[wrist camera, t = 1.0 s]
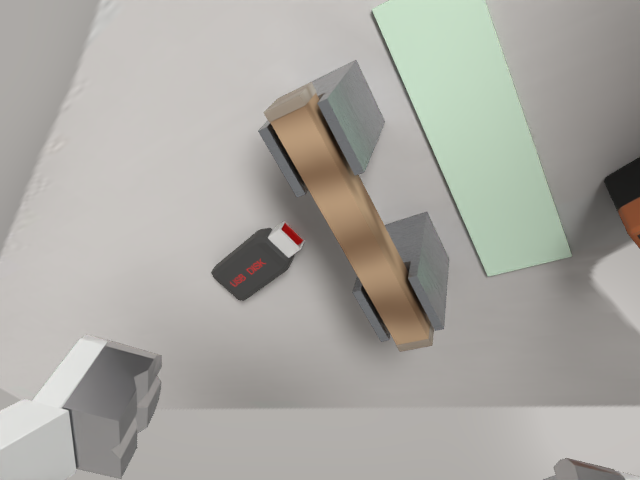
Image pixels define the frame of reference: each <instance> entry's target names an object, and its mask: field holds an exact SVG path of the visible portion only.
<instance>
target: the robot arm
mask: <svg viewBox="0 0 640 480" xmlns="http://www.w3.org/2000/svg"><path fill="white" fill-rule="evenodd" d="M161 367H162V355H159V354H156V353H152V352H149V351H145V350H142V349H138V348H134V347H131V346H127V345H124V344H120V343H117V342H113V341H110V340H106V339H102V338H99V337H95V336H91V335H87V334H86V335H85V336H83V337H82V338H80V339H79V340H78V341H77V342H76V344H75V345H74V346H73V348H72V349H71V350H70V351H69V353H68V354H67V355H66V357H65V358H64V359H63V360H62V362H61V363H60V364H59V366H58V367H57V368H56V370H55V371H54V372H53V373H52V375H51V376H50V377H49V379H48V380H47V381H46V383H45V384H44V385H43V386H42V388H41V389H40V390H39V392H38V393H37V394H36V396H35V397H34V398H33V399H32V400H27V399H22V400H20V401H18V402H16V403H14V404H13V405H11V406H9V407H7V408H5V409H3V410H1V411H0V480H67V479H68V478H69V477H70V476H72V475H73V474H74V473H76V471H77V470H76V469H79V470H83V471H88V472H93V473H97V474H101V475H105V476H110V477H114V478H119V479H121V478H122V476H123V474H124V472H125V470H126V468H127V466H128V464H129V462H130V460H131V458H132V457H133V454H134V453H135V450H136V449H137V433H139V432H141V431H142V430H144V429H145V428H147V427H148V424H149V423H150V420H151V418H152V416H153V414H154V411H155V409H156V406H157V403H158V400H159V395H160V390H161V380H160V379H159V378H158V376H157V374H158V373H159V371H160V369H161ZM554 470H555V474H556V475H555V476H552V477H549V478H546V479H544V480H640V477H639V476H635V475H632V474H628V473H624V472H619V471H615V470H614V469H610V468H606V467H602V466H598V465H594V464H589V463H585V462H581V461H577V460H573V459H569V458H565V459H562V460H560V461H559V462H558V463H557V464H556V465H555V466H554Z"/></svg>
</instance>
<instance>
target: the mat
mask: <svg viewBox="0 0 640 480" xmlns="http://www.w3.org/2000/svg"><path fill="white" fill-rule="evenodd" d="M372 11H373V14H374V16H375V18H376V21H377V23H378V25H379V28H380V30H381V32H382V34H383V37H384V39H385V41H386V44H387V46H388V48H389V51H390V53H391V55H392V57H393V60H394V62H395V64H396V67H397V69H398V71H399V73H400V76H401V78H402V80H403V83H404V85H405V87H406V90H407V92H408V94H409V96H410V99H411V101H412V103H413V106H414V108H415V110H416V113H417V115H418V117H419V119H420V122H421V124H422V126H423V129H424V131H425V133H426V136H427V138H428V140H429V142H430V145H431V147H432V149H433V152H434V154H435V156H436V159H437V161H438V163H439V165H440V168H441V170H442V172H443V175H444V177H445V179H446V182H447V184H448V186H449V188H450V191H451V193H452V195H453V198H454V200H455V202H456V205H457V207H458V209H459V211H460V214H461V216H462V218H463V221H464V223H465V225H466V227H467V230H468V232H469V234H470V237H471V239H472V241H473V244H474V246H475V248H476V250H477V253H478V255H479V257H480V260H481V262H482V264H483V267H484V269H485V271H486V273H487V276H488V277H489V276H493V275H497V274H501V273H506V272H510V271H514V270H518V269H522V268H526V267H530V266H535V265H539V264H543V263H547V262H551V261H555V260H559V259H564V258H568V257H572V254H571V251H570V248H569V245H568V242H567V239H566V236H565V233H564V230H563V228H562V225H561V222H560V219H559V216H558V213H557V210H556V207H555V204H554V201H553V198H552V195H551V192H550V189H549V186H548V184H547V181H546V178H545V175H544V172H543V169H542V166H541V163H540V160H539V157H538V154H537V151H536V148H535V145H534V143H533V140H532V137H531V134H530V131H529V128H528V125H527V122H526V119H525V116H524V113H523V110H522V107H521V104H520V102H519V99H518V96H517V93H516V90H515V87H514V84H513V81H512V78H511V75H510V72H509V69H508V66H507V63H506V60H505V58H504V55H503V52H502V49H501V46H500V43H499V40H498V37H497V34H496V31H495V28H494V25H493V22H492V19H491V17H490V14H489V11H488V8H487V5H486V2H485V0H388V1H387V2H385V3H383V4H381V5H379V6H377V7H375V8H374V9H372Z"/></svg>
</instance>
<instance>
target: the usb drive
mask: <svg viewBox="0 0 640 480" xmlns="http://www.w3.org/2000/svg"><path fill="white" fill-rule="evenodd" d="M304 243H305V241H304V240H303V239H302V238H301V237H300V236H299V235H298V234H297V233H296V232H295V231H294V230H293V229H292V228H291V227H290V226H289V225H288V224H287V223H286V222H285V221H283V222H282V223H280V224H279V225H278V226H277V227H275V228H274V229H273V230H272V229H271V228H267V229H260V230H258V231H257V232H256V233H255V234H253V235H252V236H251V237H250V238H249V239H247V240H246V241H245V242H244V243H243V244H241V245H240V246H239V247H238V248H236V249H235V250H234V251H233V252H232V253H230V254H229V255H228V256H227V257H226V258H224V259H223V260H222V261H221V262H219V263H218V264H217V265H216V266H215V267H214V269H213V270H212V272H211V273H212V275H213V277H214V278H215V279H216V280H217V281H218V282H219V283H220V284H221V285H223V286H224V287H225V288H226V289H227V290H228V291H229V292H230V293H232V294H233V295H234V296H235V297H236V298H237V299H238V300H242V301H244V300H246V299H247V298H248V297H250V296H251V295H253V294H254V293H255V292H257V291H258V290H260V289H261V288H262V287H264V286H265V285H267V284H268V283H269V282H271V281H272V280H274V279H275V278H276V277H278V276H279V275H280V274H282V273H283V272H285V271H286V270H287V269H288V268H289V266H290V264H291V262H292V260H293V257H294V255H295V253H296V252H298V251H299V250H301V249H302V247H303V245H304Z"/></svg>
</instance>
